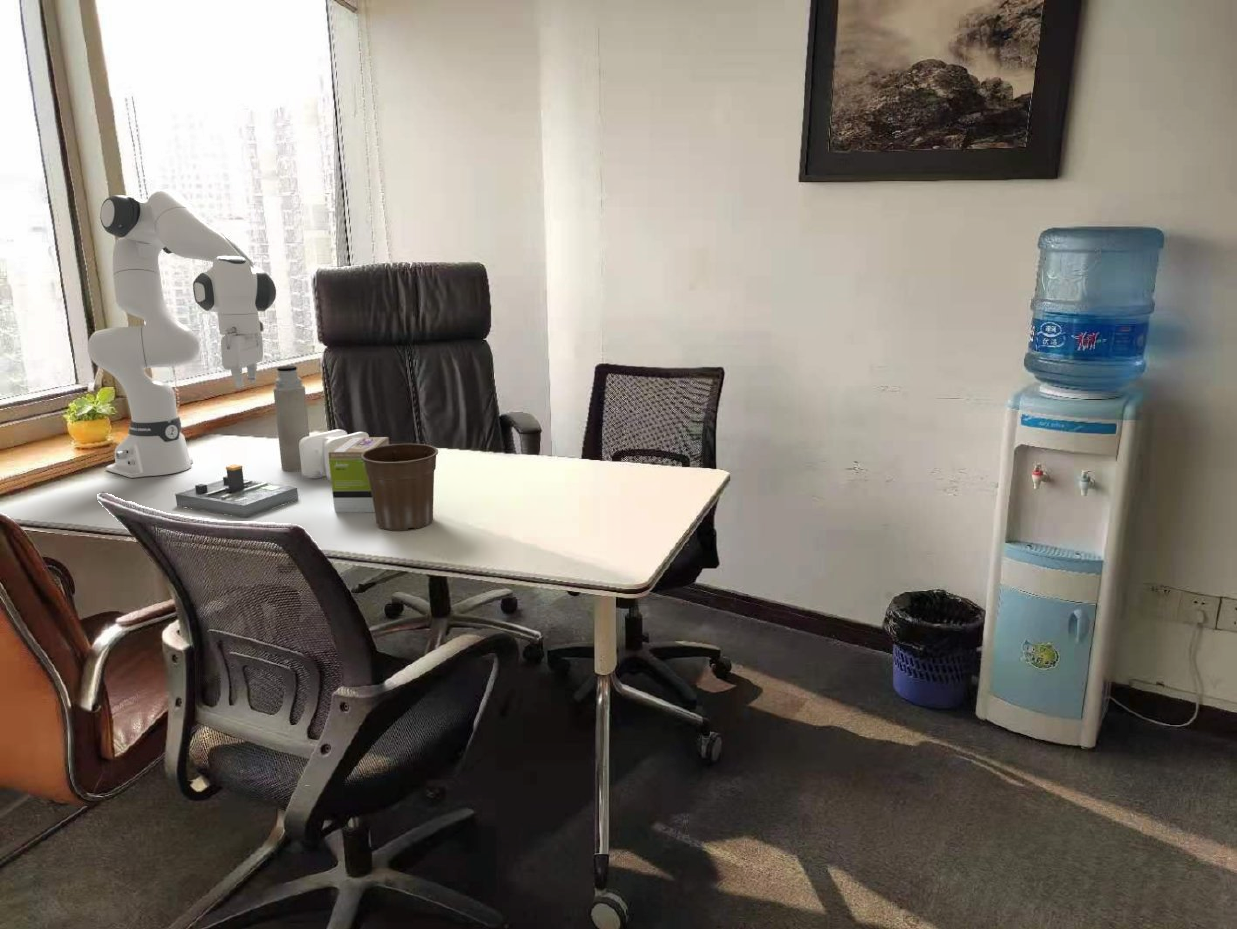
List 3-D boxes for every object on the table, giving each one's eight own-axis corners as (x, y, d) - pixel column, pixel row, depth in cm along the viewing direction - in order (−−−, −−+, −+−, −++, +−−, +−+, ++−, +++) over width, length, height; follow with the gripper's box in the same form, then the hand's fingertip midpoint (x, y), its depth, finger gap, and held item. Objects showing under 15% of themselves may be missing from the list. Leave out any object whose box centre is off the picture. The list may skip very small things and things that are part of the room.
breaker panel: (176, 506, 201) (174, 487, 200) (232, 489, 215) (230, 471, 214) (245, 518, 192) (243, 498, 191) (298, 499, 206) (296, 480, 205)
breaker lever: (225, 490, 201) (222, 467, 200) (239, 486, 205) (236, 463, 203) (234, 491, 200) (231, 468, 199) (247, 487, 204) (245, 464, 202)
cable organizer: (329, 486, 217) (325, 441, 214) (300, 480, 222) (296, 437, 219) (372, 473, 230) (369, 430, 227) (345, 468, 235) (341, 426, 232)
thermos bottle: (300, 462, 241) (290, 363, 234) (318, 466, 237) (309, 365, 230) (275, 468, 234) (264, 367, 227) (294, 472, 230) (283, 369, 223)
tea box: (354, 494, 210) (349, 435, 206) (395, 494, 210) (390, 436, 206) (332, 513, 196) (327, 450, 192) (376, 513, 195) (371, 450, 192)
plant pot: (425, 536, 179) (420, 462, 175) (353, 532, 182) (347, 459, 178) (452, 513, 195) (449, 444, 191) (386, 510, 198) (381, 442, 194)
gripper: (239, 328, 192) (247, 389, 195) (265, 323, 212) (271, 379, 215) (210, 329, 191) (218, 390, 194) (238, 324, 211) (245, 380, 214)
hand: (246, 384), depth 204 cm, fingers open, 8 cm apart
